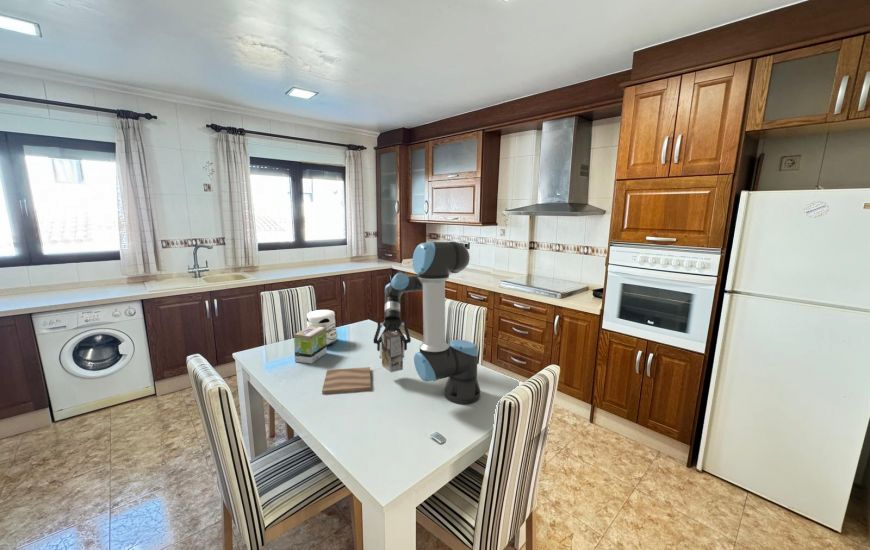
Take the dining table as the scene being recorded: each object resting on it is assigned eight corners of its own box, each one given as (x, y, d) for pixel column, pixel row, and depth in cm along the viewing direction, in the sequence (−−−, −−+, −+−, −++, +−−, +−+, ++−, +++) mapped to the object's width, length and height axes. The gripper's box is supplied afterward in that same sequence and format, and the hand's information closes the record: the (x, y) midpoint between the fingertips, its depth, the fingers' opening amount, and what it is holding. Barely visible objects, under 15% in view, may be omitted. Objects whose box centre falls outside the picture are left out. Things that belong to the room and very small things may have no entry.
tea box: (312, 364, 176) (311, 336, 174) (294, 362, 178) (292, 334, 176) (327, 352, 191) (326, 326, 188) (310, 351, 193) (309, 325, 190)
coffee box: (403, 369, 159) (403, 335, 156) (390, 373, 155) (390, 337, 152) (393, 362, 166) (393, 329, 163) (381, 365, 162) (381, 332, 160)
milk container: (337, 347, 199) (336, 316, 196) (305, 350, 194) (303, 318, 191) (337, 337, 215) (336, 308, 212) (307, 339, 210) (305, 310, 207)
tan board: (370, 390, 152) (370, 387, 151) (322, 393, 148) (322, 390, 148) (370, 370, 171) (370, 367, 171) (327, 372, 167) (327, 369, 167)
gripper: (415, 316, 174) (416, 359, 161) (369, 317, 171) (367, 361, 158) (415, 308, 167) (417, 352, 154) (368, 309, 165) (366, 354, 152)
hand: (392, 357), depth 156 cm, fingers closed on coffee box, 9 cm apart
